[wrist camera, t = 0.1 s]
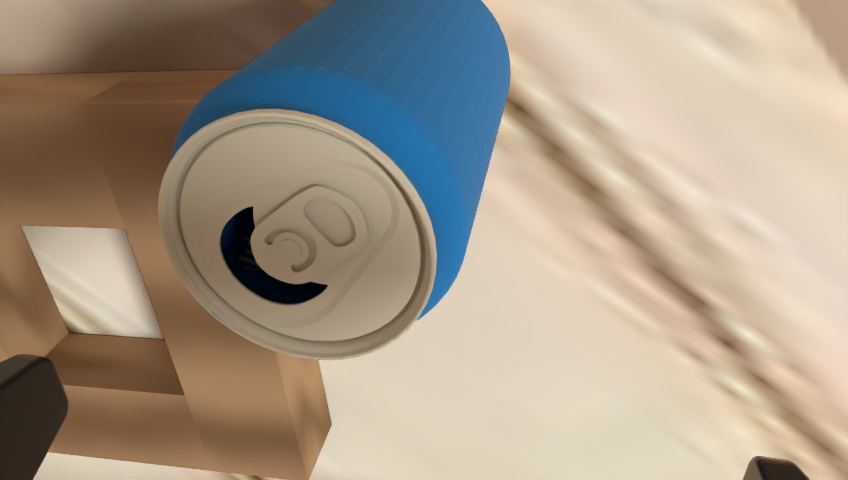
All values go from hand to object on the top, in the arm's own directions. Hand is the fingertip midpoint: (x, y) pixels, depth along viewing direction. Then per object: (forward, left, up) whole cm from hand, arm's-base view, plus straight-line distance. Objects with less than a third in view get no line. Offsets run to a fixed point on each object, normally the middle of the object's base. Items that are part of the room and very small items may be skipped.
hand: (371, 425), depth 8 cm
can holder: (-9, +18, -16) cm, 26 cm away
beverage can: (0, +3, -17) cm, 17 cm away
